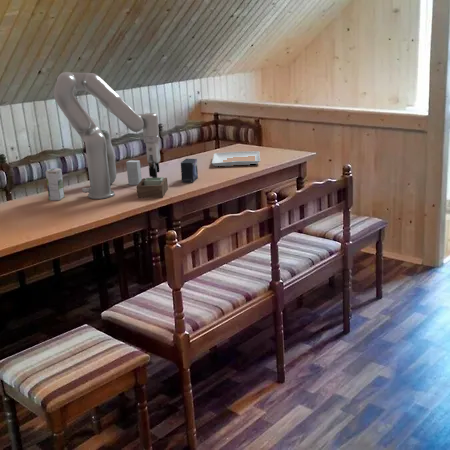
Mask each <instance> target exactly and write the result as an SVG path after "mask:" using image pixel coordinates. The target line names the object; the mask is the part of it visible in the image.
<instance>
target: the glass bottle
mask: <svg viewBox="0 0 450 450" xmlns="http://www.w3.org/2000/svg"><path fill="white" fill-rule="evenodd" d="M100 131H101V132H102V133H103V135H104V136H105V139H106V145H107V159H108V168H109V177H110V185H111V184H113V183H114V182H115V181H116V179H117V167H116V155H115V150H114V147H113V144H112V140H111V136H110V133H109V132H108V130H106V129H100Z"/></svg>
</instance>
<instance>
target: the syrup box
mask: <svg viewBox="0 0 450 450" xmlns="http://www.w3.org/2000/svg"><path fill="white" fill-rule="evenodd" d="M45 178H46V186H47V188H46V189H47V196H48V201H61V200H63V199H64V198H65V189H64V181H63V173H62V168H58V167H57V168H56V167H54V168H49V169H47V170H45ZM62 198H63V199H62Z"/></svg>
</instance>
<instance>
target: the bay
mask: <svg viewBox="0 0 450 450" xmlns="http://www.w3.org/2000/svg"><path fill="white" fill-rule="evenodd" d="M145 179H146V177H145V178H142V180H141V181H140V183H139V184H138V185H135V187H136V196H137V197H136V198H137V199H160V198H161V199H163V198H164V196H165V195H166V193H167V191H168V190H169V185H168V177H164V179H163V181H162V182H161V184H160V185H149V186H144V180H145Z"/></svg>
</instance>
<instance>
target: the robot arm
mask: <svg viewBox="0 0 450 450" xmlns="http://www.w3.org/2000/svg"><path fill="white" fill-rule="evenodd" d="M55 83H56V84H55V86H54V92H53V94H54V99H55V102H56V104H57V106H58V108H59V109H60V110H61V112H62V113H63V114H64V116H65V118H66V119H67V120H68V122H69V123H70V125H71V127H72V128H73V129H74V130H75V131H76V133H77V134H78V136H80V138H81V139H82V141H83V142H84V144H85V155H86V162H87V170H88V179H89V186H90V187H82V188H81V190H82V192H83V193H84V194H86V193H88V194H87V197H88V199H92V200H100V199H108V198H111V197H114V196H115V191H113V190H112V187H111V184H110V177H109V168H108V159H107V145H106V139H105V136H104V135H103V133H102V132H101V131H100V130H101V129H100V128H99V127H98V125H97V124H96V123H95V121H94V120H93V119H92V117H91V115H89V113H88V112H87V111H86V110H85V109H84V108H83V106H82V105H81V104H80V102H79V100H78V99H77V98H76V96H75V93H74V92H75V91H76V92H88V93H89V94H90V95H91V96H92V97H94V99H96V101H98V102H99V103H100V104H101V105H102V106H103V107H104V108H105V109H107V111H109V112H110V113H112V114H113V116H115V117H116V118H117V119H118V120H119V121H121V122H122V124H123V125H124V126H126V128H128V129H129V130H130V131H131V132H133V133H140V132H141V131H142V135H143V144H145V145H146V146H145V147H146V149H145V150H146V158H147V159H146V160H147V164H148V175H149V178H152V177H156V168H155V165H156V167H157V173H160V161H161V153H160V145H159V143H161V141H160V131H159V130H160V129H159V119H158V114H157V113H155V112H146V113H137V112H135V111H134V109H132V108H131V106H129V104H127V103H126V102H125V101H124V99H123V98H122V97H121V96H120V95H119V93H117V92H116V91H115V90H114V89H113V88H112V87H111V86H110V85H109V84H107V82H106V81H105V80H103V79H102V78H101V76H99V74H96V73H93V72H73V71H71V72H70V71H64V72H61V73H60V74H59V75H58V76H57V79H56V82H55Z"/></svg>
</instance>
